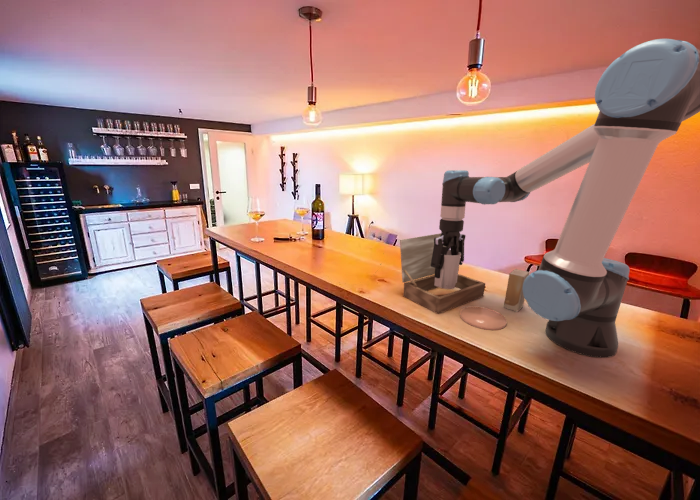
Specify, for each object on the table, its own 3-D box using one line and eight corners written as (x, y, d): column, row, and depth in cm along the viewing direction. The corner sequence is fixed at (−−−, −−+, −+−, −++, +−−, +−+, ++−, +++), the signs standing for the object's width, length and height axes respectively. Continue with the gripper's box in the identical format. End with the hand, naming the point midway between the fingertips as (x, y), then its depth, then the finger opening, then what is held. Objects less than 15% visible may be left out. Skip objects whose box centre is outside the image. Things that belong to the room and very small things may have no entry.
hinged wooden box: (483, 296, 105) (491, 242, 99) (438, 313, 91) (444, 252, 86) (440, 279, 120) (445, 232, 114) (396, 292, 106) (399, 239, 101)
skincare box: (509, 302, 100) (515, 268, 97) (523, 306, 97) (530, 271, 94) (502, 307, 96) (508, 272, 93) (517, 312, 93) (524, 276, 90)
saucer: (515, 321, 87) (515, 319, 87) (490, 334, 80) (490, 332, 80) (475, 305, 97) (476, 303, 97) (450, 315, 90) (451, 313, 90)
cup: (459, 290, 98) (463, 256, 95) (434, 289, 99) (437, 254, 96) (455, 282, 105) (459, 250, 102) (433, 280, 107) (435, 249, 104)
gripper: (461, 215, 105) (454, 275, 111) (421, 219, 94) (417, 286, 100) (480, 217, 99) (472, 281, 105) (440, 222, 88) (434, 293, 94)
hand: (445, 283), depth 102 cm, fingers closed on cup, 7 cm apart
